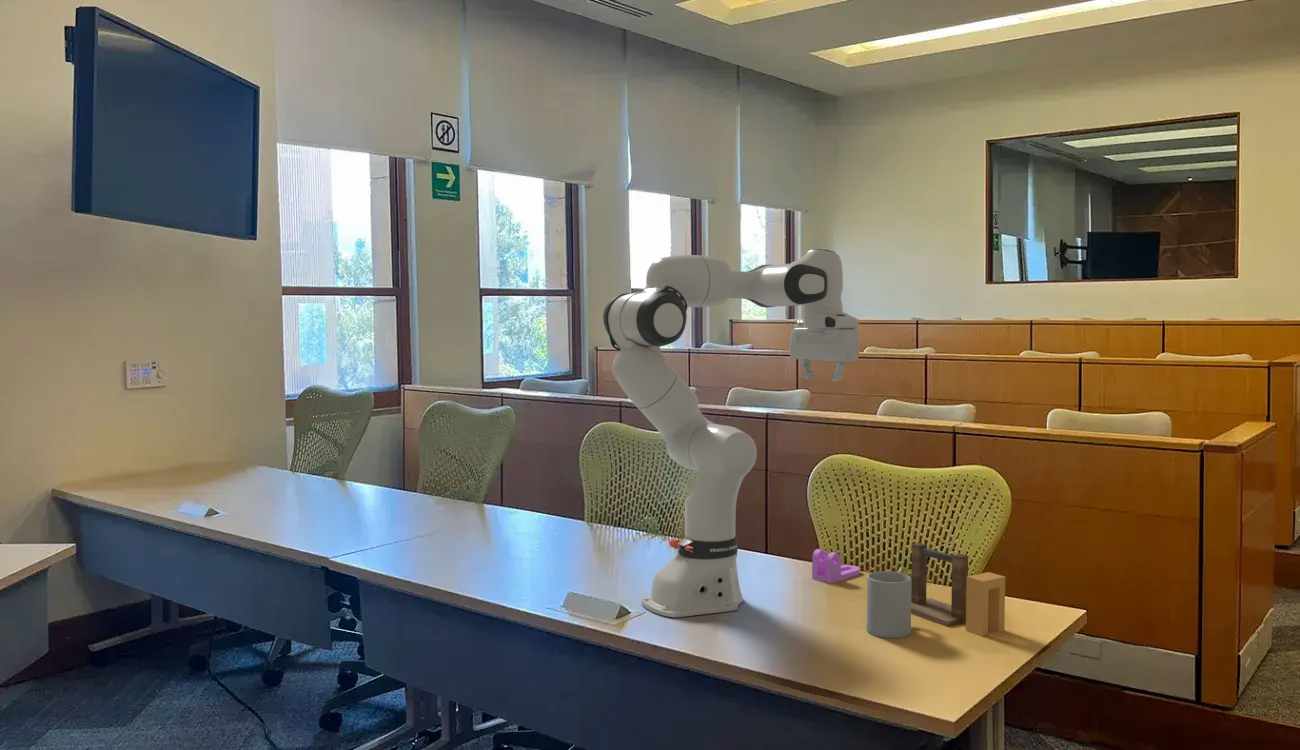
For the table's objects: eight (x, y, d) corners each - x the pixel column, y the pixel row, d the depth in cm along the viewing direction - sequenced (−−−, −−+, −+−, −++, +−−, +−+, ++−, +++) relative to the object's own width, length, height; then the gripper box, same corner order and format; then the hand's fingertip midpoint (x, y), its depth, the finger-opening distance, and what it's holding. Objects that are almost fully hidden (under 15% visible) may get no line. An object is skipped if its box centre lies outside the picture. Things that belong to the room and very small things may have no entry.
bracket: (831, 584, 220) (831, 554, 220) (812, 579, 224) (812, 550, 224) (864, 573, 229) (864, 545, 228) (845, 569, 233) (845, 541, 232)
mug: (901, 641, 180) (902, 585, 180) (859, 633, 185) (860, 578, 185) (923, 625, 190) (923, 571, 190) (882, 617, 195) (883, 565, 194)
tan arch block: (982, 636, 183) (983, 581, 183) (965, 630, 187) (966, 576, 186) (1004, 630, 186) (1005, 576, 186) (987, 624, 190) (988, 572, 189)
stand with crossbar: (947, 626, 189) (948, 559, 188) (899, 609, 200) (900, 546, 199) (978, 619, 194) (979, 553, 193) (930, 602, 205) (930, 540, 204)
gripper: (783, 320, 226) (783, 378, 227) (843, 320, 208) (843, 383, 209) (803, 320, 229) (803, 377, 230) (864, 320, 212) (863, 381, 213)
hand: (822, 380), depth 219 cm, fingers open, 8 cm apart
